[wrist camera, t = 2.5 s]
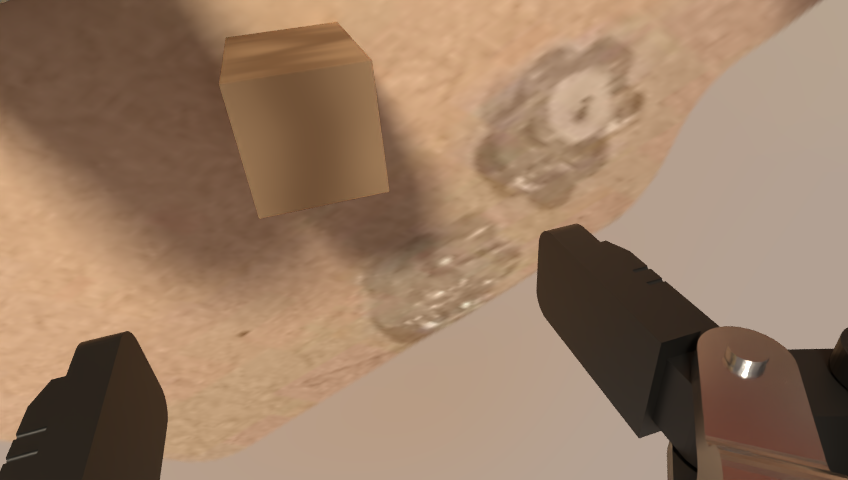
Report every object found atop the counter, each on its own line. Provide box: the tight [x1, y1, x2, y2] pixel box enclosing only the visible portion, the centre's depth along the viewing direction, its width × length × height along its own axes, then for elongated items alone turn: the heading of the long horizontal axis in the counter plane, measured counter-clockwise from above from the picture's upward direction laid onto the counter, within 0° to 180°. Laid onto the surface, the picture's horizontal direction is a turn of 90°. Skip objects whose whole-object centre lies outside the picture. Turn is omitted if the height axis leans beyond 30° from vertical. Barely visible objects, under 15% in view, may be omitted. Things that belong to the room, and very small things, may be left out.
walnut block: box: [219, 22, 389, 219], centre depth 22 cm, size 5×5×8 cm
